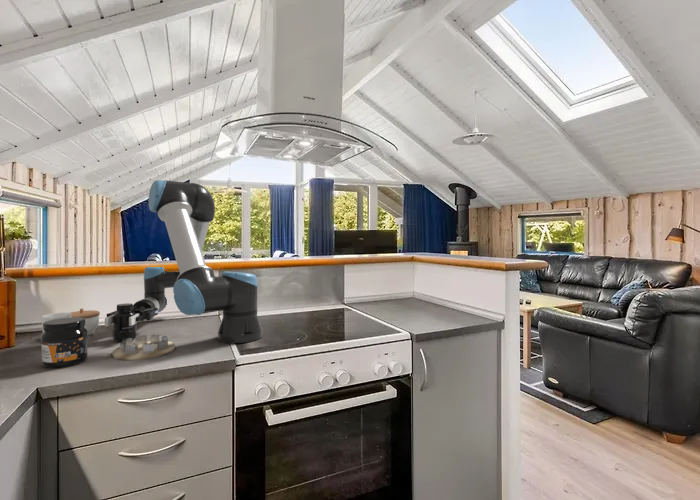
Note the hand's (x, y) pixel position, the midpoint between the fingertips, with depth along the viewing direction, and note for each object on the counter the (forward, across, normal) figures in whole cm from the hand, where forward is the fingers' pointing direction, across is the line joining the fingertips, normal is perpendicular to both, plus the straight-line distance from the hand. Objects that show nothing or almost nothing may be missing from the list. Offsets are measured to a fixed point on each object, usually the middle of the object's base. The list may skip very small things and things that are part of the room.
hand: (118, 322), depth 125 cm
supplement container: (+18, +6, -8) cm, 20 cm away
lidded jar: (-14, +18, -8) cm, 24 cm away
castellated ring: (+10, -12, -7) cm, 17 cm away
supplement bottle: (-5, 0, -7) cm, 9 cm away
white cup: (-1, +19, -8) cm, 20 cm away
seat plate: (+10, -12, -7) cm, 17 cm away
